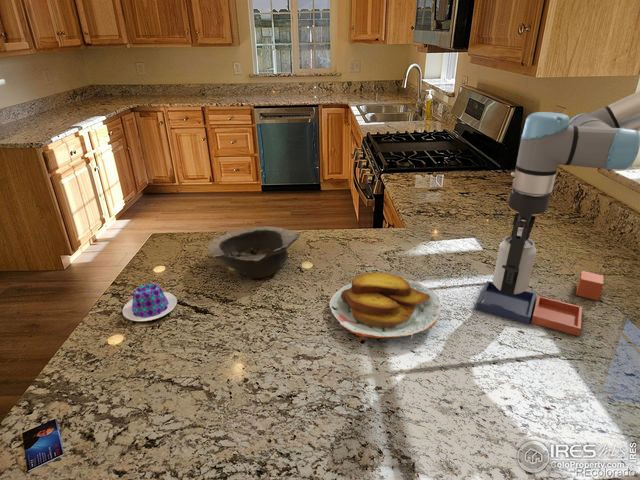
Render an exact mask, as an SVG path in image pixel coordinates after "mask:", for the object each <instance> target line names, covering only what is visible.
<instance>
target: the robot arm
mask: <svg viewBox="0 0 640 480" xmlns="http://www.w3.org/2000/svg"><path fill="white" fill-rule="evenodd" d="M639 132H640V90H639V91H636V92H634V93H632V94H630V95H628V96H625V97H623V98H620V99H619V100H617V101H614V102H612V103H611V104H610V103H609V104H608V105H606V106H604V107H602V108H599V109H597V110H594V111H593V112H584V113H579V114H577V115H575V116H573V117H572V118H571V119H570V117H569V115H567V114H565V113H562V112H561V113H560V112H552V111H537V112H532V113H530V114H529V115H528V116H527V117H526V119H525V123H524V127H523V129H522V133H521V135H520V136H521V137H520V143H519V148H518V154H517V158H516V164H515V169H514V170H515V171H513V172H511V173H510V177H513V179H512V185H511V187H512V189H511V190H510V192H509V197H508V204H507V205H508V207H509V208H510V209H511V210H513V211H516V212H515V215H514V217H513V220H512V225H513V226H512V230H511V233H510V236H511V237H512V240H511V244H510V249H509V253H508V258H507V262H506V265H502V268H505V272H504V277H503V281H502V286H501V291H500V293H503V294H507V295H511V296H513V294H514V290H515V286H516V282H517V277H518V273H519V265H520V261H521V257H522V253H523V249H524V245H525V241H526V240H528V239H530V235H531V232H532V230H533V227H534V225H535V222H536V218H537V216H536V215H541V214H544V213H546V212H547V211H548V208H549V204H550V200H551V193H552V192H553V190H554V184H555V181H556V177H557V171H558V167H559V166H568V167H569V166H571V167H580V168H581V167H582V168H592V169H603V170H607V171H609V170H627V169H629V168H631V166H633V165H634V163H635V161H636V159H637V157H638V155H639V151H640V133H639Z"/></svg>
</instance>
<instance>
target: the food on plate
mask: <svg viewBox="0 0 640 480" xmlns="http://www.w3.org/2000/svg"><path fill="white" fill-rule="evenodd" d="M328 307H329V308H330V310H331V313H332V314H333V316H334V317H335V318H336V320H337V321H338V322H339V323H338V324H339V325H340V326H341V327H342V328H344V329H346V330H347V331H350V334H355V335H356V336H358V339H357V340H358V341H360V342H361V341H363V337H366V338H375V339H384V338H386V339H389V338H395V339H396V338H399V337H407V336H410V340H412V339H413V337H414V334H417V333H420V332H424V331H425V332H426V330H427V329H433V327H434V326H435V325H436V324H437V322H438V320H439V318H440V317H441V313H442V312H443V310H442V303H441V301H440V298H439V296H437V294H436V293H434V292H433V290H431V289H429V288H428V287H427V286H425V285H424V284H423V285H422V283H419V282H417V281H414V280H411V279H409V278H404V277H402V276H399V275H396V274H391V273H388V272H375V271H374V272H366V273H361V274H359V275H356V276H354V278H352V280H351V282H350V283H347V284H345V285H344V286H341V287H340V288H339V289H338V290H337V291H336V292H335V293H334V294H333V295H331V298H330V299H329V301H328ZM331 323H332V324H334V322H333V321H331Z"/></svg>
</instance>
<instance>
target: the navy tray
mask: <svg viewBox="0 0 640 480" xmlns="http://www.w3.org/2000/svg"><path fill="white" fill-rule="evenodd" d="M536 295H537V293H536V292H533V291H530V290H526V291H524V292H522V293H520V294H513V296H511V295H507V294H503V293H500V290H499V289H497V288H496V286H495V285H494V284H493V281H490V280H486V282H485V284H484V287H483V289H482V291H481V294H480V295H479V298H478V300H477V302H476V307H475V310H476V311H479V312H483V313H487V314H490V315H494V316H497V317H501V318H505V319H508V320H510V321H514V322H517V323H522V324H525V325H529V324H530V322H531V321H530V320H531V318H532V317H531V316H532V314H533V313H532V312H533V308H534V304H535V301H536V300H535V299H536Z"/></svg>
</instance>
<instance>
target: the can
mask: <svg viewBox="0 0 640 480" xmlns="http://www.w3.org/2000/svg"><path fill="white" fill-rule="evenodd" d="M511 240H512V237H511V235H507V236H505V237H504V238H503V241H501V242H500V243H499V247H498V252H497V257H496V261H495V266H494V271H493V277H492V282H493V284H494V285H495V286H496V288H497V289H499V290H500V291H501V286H502V281H503V277H504V272H505V268H502V265H506V262H507V258H508V253H509V249H510V244H511ZM535 245H536V243H535V242H534V241H533V240H532V239H530V238H529V239H528V240H526V241H525V245H524V249H523V253H522V257H521V261H520V265H519V273H518V277H517V282H516V286H515V290H514V294H520V293H522V292H524V291H528V288H529V284H530V280H531V276H532V272H533V269H534V263H535V261H536V255H537V248H536V246H535Z"/></svg>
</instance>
